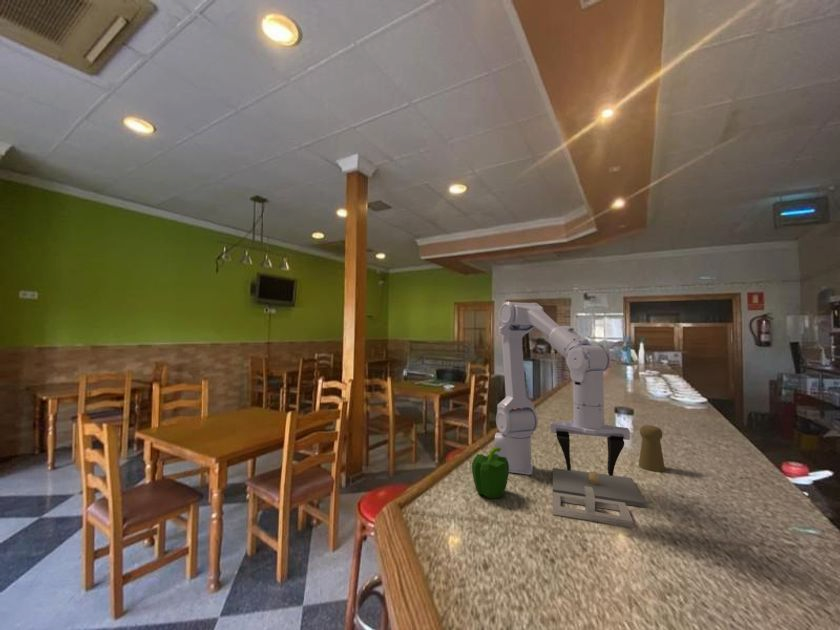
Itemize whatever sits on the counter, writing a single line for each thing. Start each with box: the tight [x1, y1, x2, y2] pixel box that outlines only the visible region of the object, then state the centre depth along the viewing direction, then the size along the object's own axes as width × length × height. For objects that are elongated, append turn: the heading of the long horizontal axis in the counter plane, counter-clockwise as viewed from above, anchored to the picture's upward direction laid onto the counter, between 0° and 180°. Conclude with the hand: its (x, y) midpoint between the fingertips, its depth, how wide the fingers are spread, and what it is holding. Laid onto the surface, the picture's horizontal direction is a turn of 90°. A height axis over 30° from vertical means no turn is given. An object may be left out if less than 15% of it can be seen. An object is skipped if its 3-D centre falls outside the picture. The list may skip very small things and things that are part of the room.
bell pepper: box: [471, 447, 510, 499], centre depth 82 cm, size 8×8×10 cm
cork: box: [638, 425, 666, 473], centre depth 100 cm, size 6×6×11 cm
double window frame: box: [552, 486, 634, 529], centre depth 75 cm, size 14×8×4 cm, turn 70°
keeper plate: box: [552, 467, 646, 509], centre depth 86 cm, size 18×14×3 cm
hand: (589, 471), depth 75 cm, fingers open, 7 cm apart
